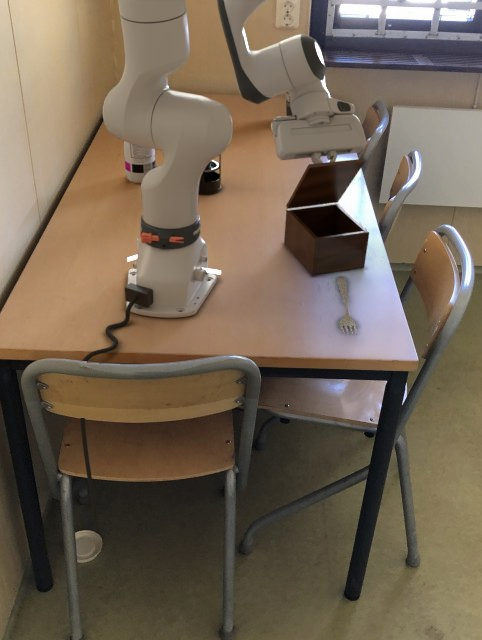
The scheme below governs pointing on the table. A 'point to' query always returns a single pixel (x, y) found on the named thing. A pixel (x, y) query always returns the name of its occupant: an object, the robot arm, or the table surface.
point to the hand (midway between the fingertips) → (328, 173)
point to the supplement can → (138, 161)
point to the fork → (346, 318)
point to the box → (325, 239)
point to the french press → (211, 178)
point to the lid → (324, 183)
